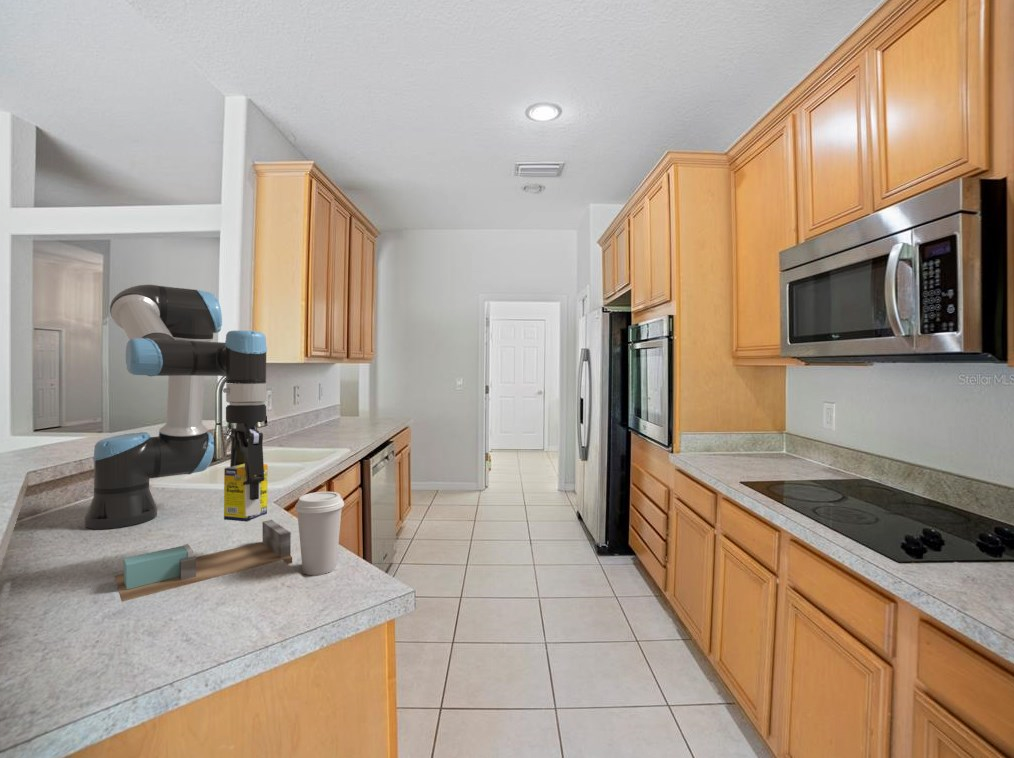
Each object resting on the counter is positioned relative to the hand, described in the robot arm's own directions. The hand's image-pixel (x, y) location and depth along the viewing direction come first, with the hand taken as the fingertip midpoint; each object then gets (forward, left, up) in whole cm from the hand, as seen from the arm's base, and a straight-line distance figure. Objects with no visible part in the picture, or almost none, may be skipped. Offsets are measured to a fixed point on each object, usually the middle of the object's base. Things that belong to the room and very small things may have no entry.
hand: (246, 510), depth 99 cm
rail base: (0, -7, -11) cm, 13 cm away
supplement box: (0, 0, -2) cm, 2 cm away
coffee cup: (+14, +10, -11) cm, 21 cm away
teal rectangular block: (0, -15, -10) cm, 18 cm away
